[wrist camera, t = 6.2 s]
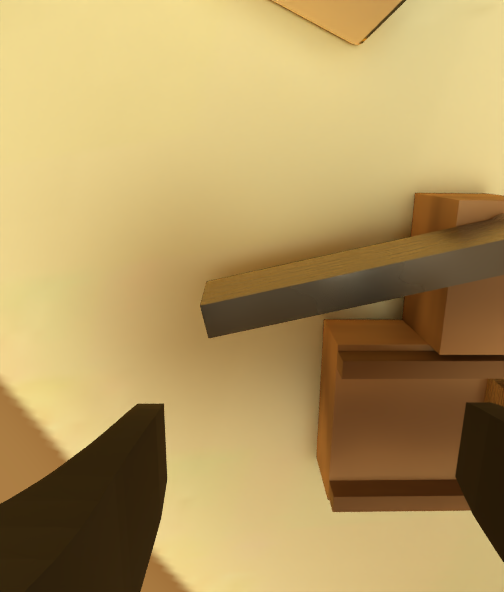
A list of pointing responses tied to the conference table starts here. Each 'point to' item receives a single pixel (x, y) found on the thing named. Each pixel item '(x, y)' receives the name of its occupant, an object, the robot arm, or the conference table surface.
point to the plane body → (410, 382)
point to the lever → (354, 277)
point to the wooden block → (495, 391)
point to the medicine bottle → (345, 15)
